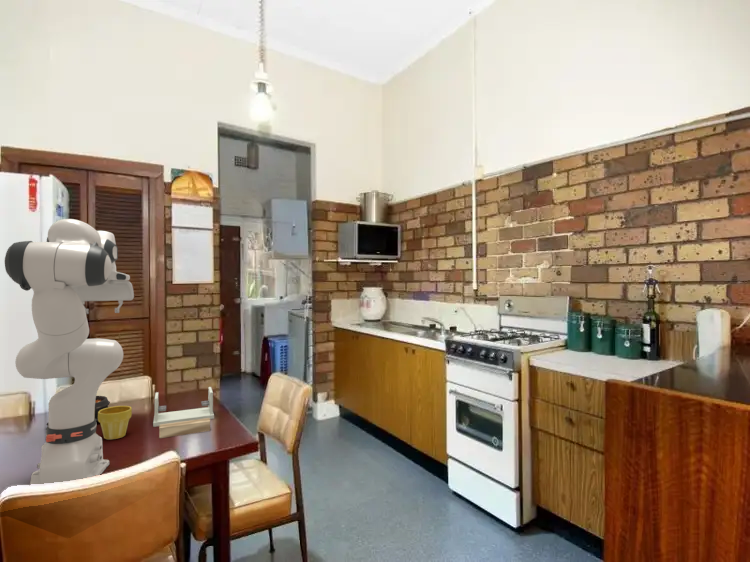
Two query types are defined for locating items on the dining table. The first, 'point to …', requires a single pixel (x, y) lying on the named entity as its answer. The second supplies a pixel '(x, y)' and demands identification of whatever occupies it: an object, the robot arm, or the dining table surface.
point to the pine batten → (184, 428)
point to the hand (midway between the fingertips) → (101, 313)
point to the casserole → (99, 405)
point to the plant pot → (114, 421)
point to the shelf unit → (183, 412)
